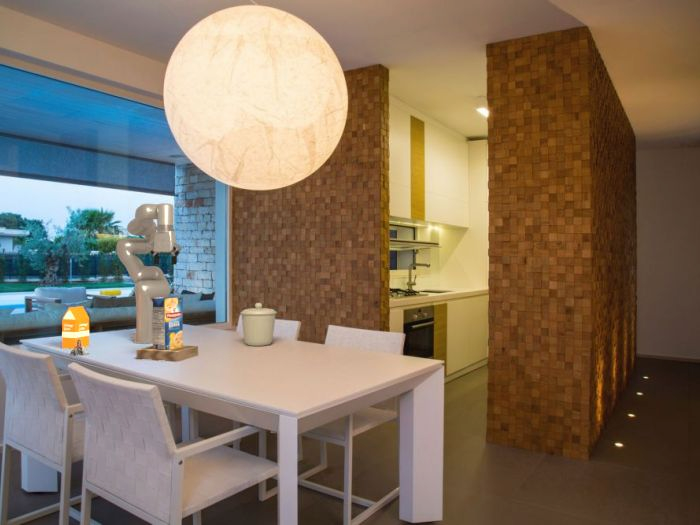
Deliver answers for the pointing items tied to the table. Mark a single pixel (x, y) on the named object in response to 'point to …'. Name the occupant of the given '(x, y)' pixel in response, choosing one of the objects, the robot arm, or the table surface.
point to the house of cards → (79, 349)
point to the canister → (258, 325)
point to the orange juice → (75, 327)
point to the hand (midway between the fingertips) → (165, 264)
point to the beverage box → (167, 323)
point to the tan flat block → (168, 353)
